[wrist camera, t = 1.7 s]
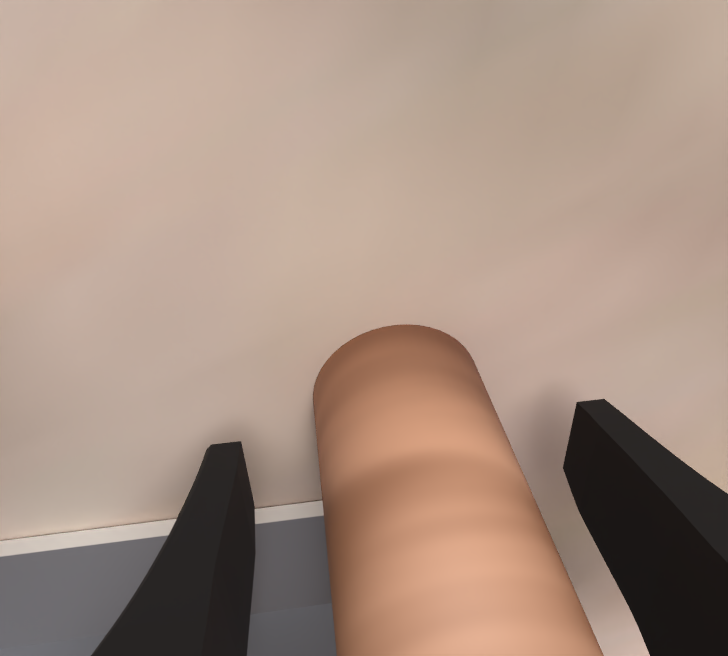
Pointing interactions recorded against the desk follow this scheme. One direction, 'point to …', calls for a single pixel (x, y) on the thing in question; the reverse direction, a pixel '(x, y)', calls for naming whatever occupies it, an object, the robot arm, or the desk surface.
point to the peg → (432, 510)
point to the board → (131, 564)
